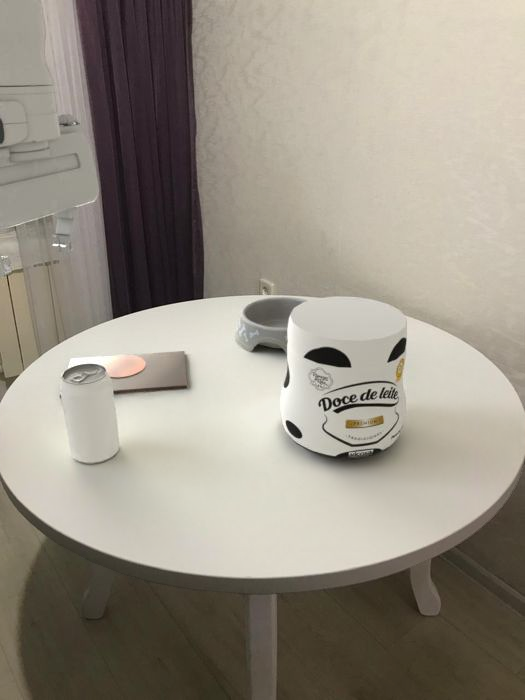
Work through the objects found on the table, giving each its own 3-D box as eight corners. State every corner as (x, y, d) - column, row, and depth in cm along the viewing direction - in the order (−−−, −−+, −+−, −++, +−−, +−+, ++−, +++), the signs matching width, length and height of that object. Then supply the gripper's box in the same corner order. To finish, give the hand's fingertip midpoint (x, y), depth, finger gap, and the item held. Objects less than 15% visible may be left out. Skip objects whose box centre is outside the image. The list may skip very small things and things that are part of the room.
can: (130, 446, 81) (121, 368, 76) (96, 471, 76) (83, 390, 71) (95, 432, 84) (84, 357, 79) (60, 456, 79) (46, 377, 74)
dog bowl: (318, 362, 104) (320, 334, 102) (222, 348, 109) (221, 322, 107) (337, 326, 119) (339, 301, 116) (251, 315, 124) (251, 291, 121)
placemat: (60, 398, 93) (59, 394, 93) (71, 361, 104) (70, 357, 104) (187, 388, 96) (187, 384, 95) (184, 353, 107) (184, 350, 107)
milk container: (359, 488, 73) (370, 358, 65) (254, 437, 83) (253, 319, 75) (424, 429, 85) (440, 313, 77) (325, 391, 95) (331, 285, 87)
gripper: (56, 111, 65) (74, 235, 71) (-113, 127, 48) (-71, 289, 54) (104, 113, 63) (118, 240, 69) (-55, 130, 46) (-18, 298, 52)
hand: (34, 262), depth 61 cm, fingers open, 8 cm apart
